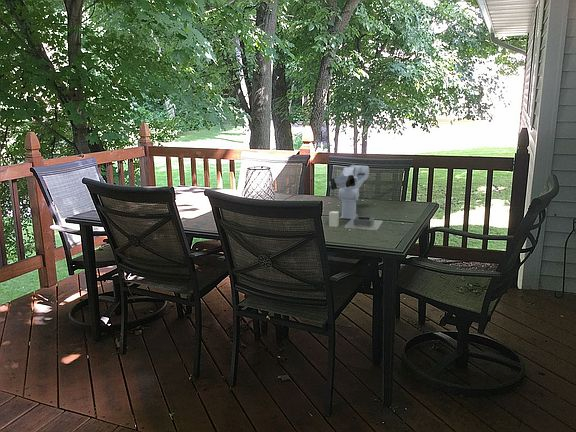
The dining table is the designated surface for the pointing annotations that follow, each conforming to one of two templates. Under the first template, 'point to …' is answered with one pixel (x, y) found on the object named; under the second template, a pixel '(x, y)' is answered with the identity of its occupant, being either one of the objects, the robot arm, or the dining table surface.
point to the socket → (364, 223)
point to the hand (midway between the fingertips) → (339, 186)
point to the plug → (334, 219)
